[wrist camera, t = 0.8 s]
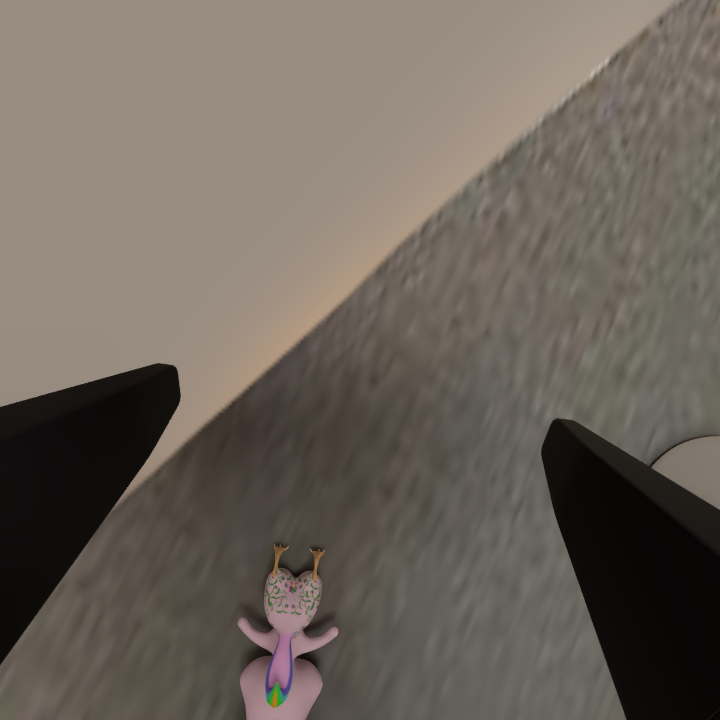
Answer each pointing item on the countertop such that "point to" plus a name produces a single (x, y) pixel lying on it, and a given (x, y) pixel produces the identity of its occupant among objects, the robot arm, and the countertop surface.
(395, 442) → the countertop surface
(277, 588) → the pink creature figurine
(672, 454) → the eye dropper bottle
